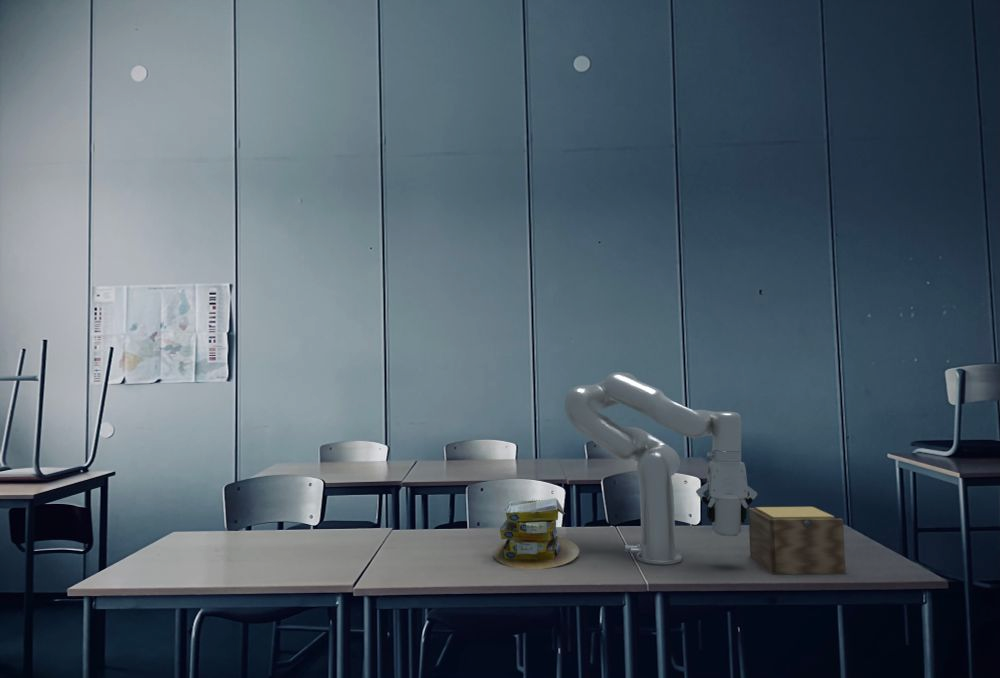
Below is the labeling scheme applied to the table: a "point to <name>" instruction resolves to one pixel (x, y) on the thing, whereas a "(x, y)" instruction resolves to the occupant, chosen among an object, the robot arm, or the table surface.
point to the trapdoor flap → (794, 513)
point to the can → (727, 515)
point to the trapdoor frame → (797, 544)
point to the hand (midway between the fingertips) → (726, 521)
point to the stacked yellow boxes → (534, 536)
